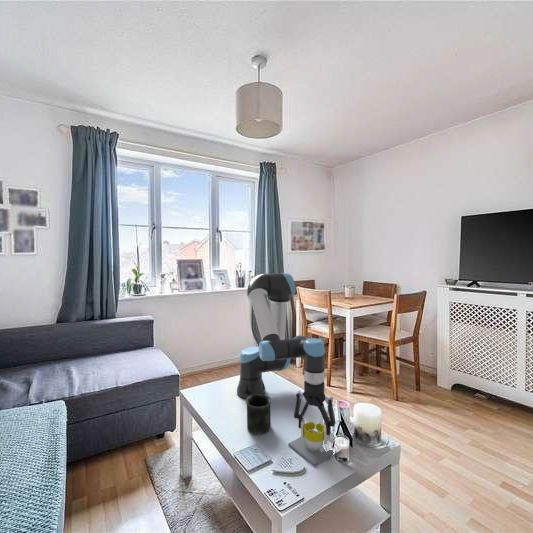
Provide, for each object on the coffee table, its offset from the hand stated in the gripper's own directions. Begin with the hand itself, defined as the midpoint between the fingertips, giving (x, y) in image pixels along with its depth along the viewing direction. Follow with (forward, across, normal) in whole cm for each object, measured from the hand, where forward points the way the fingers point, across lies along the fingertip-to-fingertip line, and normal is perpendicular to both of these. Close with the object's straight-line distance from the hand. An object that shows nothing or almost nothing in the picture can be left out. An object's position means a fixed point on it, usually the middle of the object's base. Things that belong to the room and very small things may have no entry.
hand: (314, 439), depth 113 cm
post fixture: (+4, 0, 0) cm, 4 cm away
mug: (+4, -26, +5) cm, 27 cm away
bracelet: (-1, 0, 0) cm, 1 cm away
